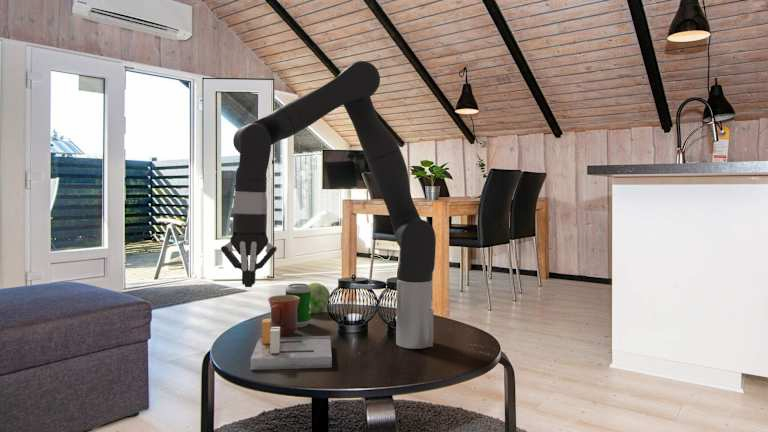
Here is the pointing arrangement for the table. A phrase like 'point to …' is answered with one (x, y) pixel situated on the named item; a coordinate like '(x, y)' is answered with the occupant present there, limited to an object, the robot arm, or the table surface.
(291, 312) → the mug
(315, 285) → the decorative ball
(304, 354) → the console
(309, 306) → the soda can
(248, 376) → the table surface
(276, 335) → the fader cream
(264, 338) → the fader orange
